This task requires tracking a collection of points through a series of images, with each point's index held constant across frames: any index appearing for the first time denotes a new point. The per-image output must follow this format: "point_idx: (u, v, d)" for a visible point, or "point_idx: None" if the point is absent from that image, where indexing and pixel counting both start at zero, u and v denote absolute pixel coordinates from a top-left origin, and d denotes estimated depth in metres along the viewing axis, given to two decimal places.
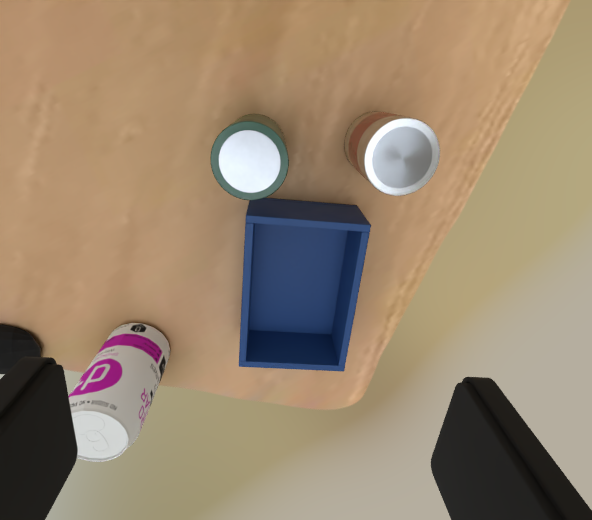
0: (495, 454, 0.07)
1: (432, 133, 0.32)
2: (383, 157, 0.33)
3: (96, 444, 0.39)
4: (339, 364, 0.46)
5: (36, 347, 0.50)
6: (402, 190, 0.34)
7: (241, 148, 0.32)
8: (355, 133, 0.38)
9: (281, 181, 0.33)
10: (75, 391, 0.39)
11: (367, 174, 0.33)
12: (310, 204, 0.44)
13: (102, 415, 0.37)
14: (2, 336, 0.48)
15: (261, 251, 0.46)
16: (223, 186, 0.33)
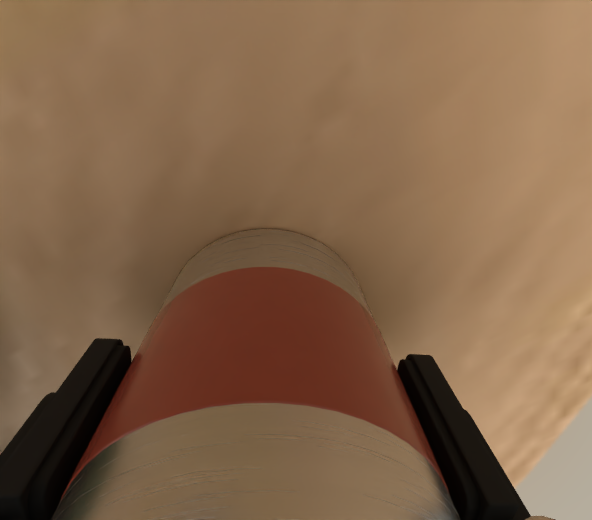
0: (423, 421, 0.08)
1: None
2: None
3: None
4: None
5: None
6: None
7: None
8: None
9: None
10: None
11: None
12: None
13: None
14: None
15: None
16: None
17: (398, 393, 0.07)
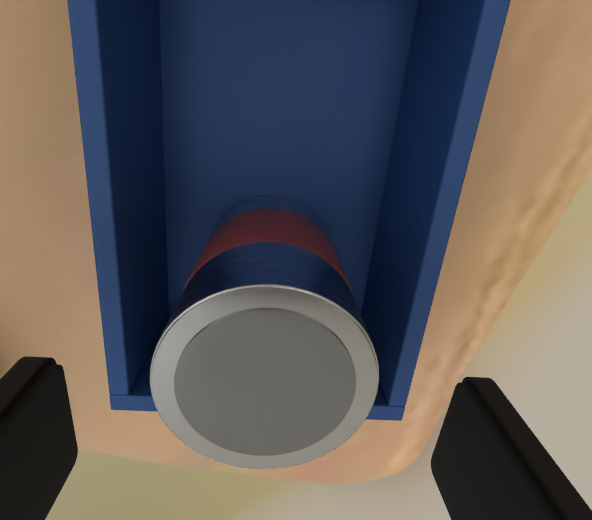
0: (495, 454, 0.07)
1: (352, 324, 0.10)
2: (207, 387, 0.11)
3: None
4: (391, 402, 0.17)
5: None
6: (279, 458, 0.12)
7: None
8: None
9: None
10: None
11: (170, 426, 0.11)
12: None
13: None
14: None
15: (182, 103, 0.18)
16: None
17: (333, 257, 0.15)
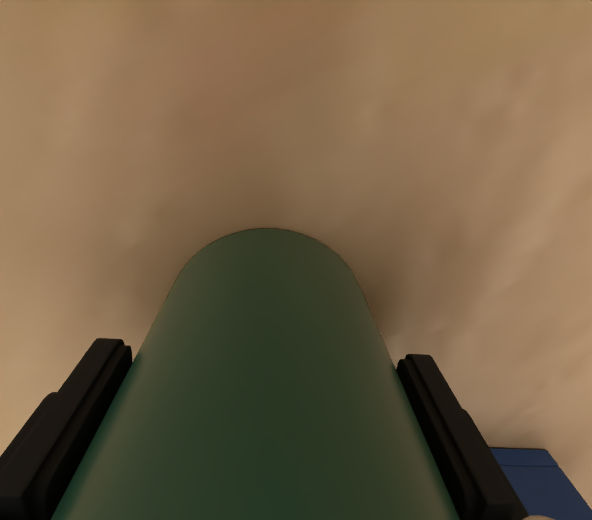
0: (422, 421, 0.08)
1: None
2: None
3: None
4: None
5: None
6: None
7: None
8: None
9: None
10: None
11: None
12: None
13: None
14: None
15: None
16: None
17: None
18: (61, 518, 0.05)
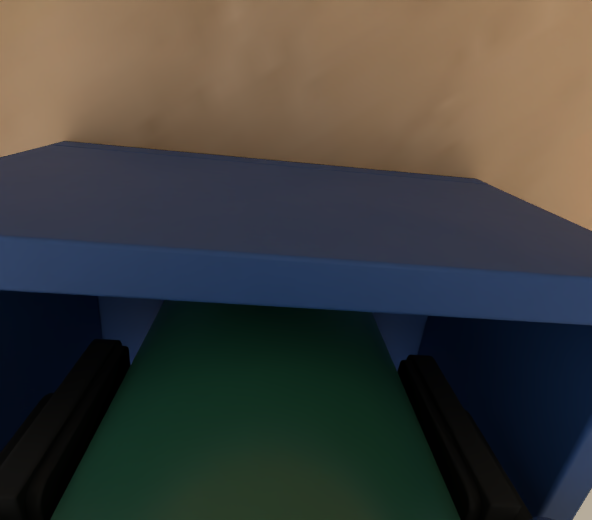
0: (425, 422, 0.08)
1: None
2: None
3: None
4: None
5: None
6: None
7: None
8: None
9: None
10: None
11: None
12: (302, 170, 0.10)
13: None
14: None
15: (131, 343, 0.13)
16: None
17: None
18: None
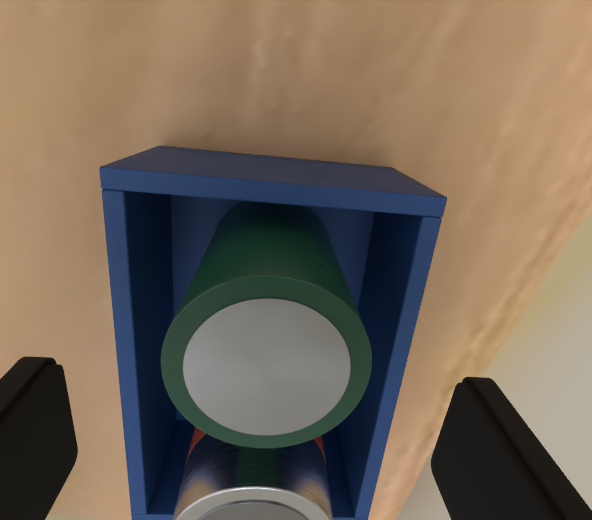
0: (495, 454, 0.07)
1: (313, 507, 0.14)
2: None
3: None
4: (356, 515, 0.21)
5: None
6: None
7: (246, 340, 0.12)
8: None
9: (349, 409, 0.13)
10: None
11: None
12: (290, 161, 0.19)
13: None
14: None
15: (189, 267, 0.22)
16: (197, 424, 0.13)
17: None
18: (200, 272, 0.13)
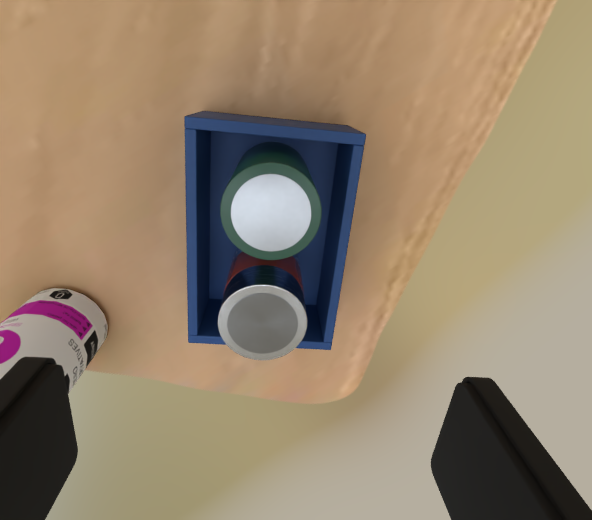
0: (495, 454, 0.07)
1: (295, 299, 0.28)
2: (239, 323, 0.28)
3: None
4: (324, 340, 0.34)
5: None
6: (268, 355, 0.29)
7: (261, 196, 0.24)
8: (229, 271, 0.33)
9: (311, 237, 0.26)
10: None
11: (224, 340, 0.29)
12: (284, 120, 0.32)
13: None
14: None
15: (220, 189, 0.35)
16: (236, 244, 0.26)
17: (293, 270, 0.32)
18: (236, 170, 0.26)
